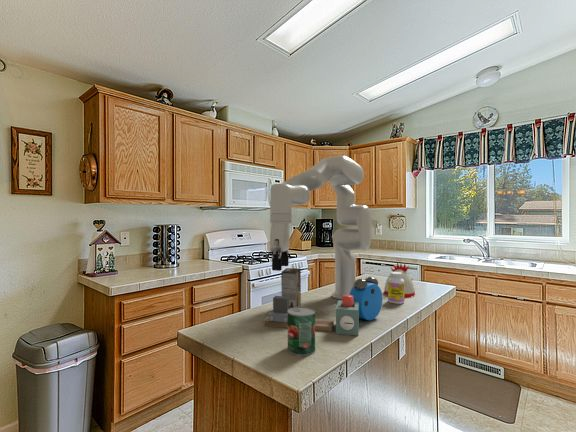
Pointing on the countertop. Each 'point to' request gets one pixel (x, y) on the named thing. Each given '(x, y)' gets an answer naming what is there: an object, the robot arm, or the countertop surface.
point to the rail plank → (319, 324)
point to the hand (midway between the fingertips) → (280, 268)
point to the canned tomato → (301, 331)
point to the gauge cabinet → (347, 319)
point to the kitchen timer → (408, 282)
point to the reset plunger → (347, 301)
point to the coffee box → (292, 286)
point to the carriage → (279, 309)
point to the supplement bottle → (396, 288)
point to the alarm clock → (367, 297)
